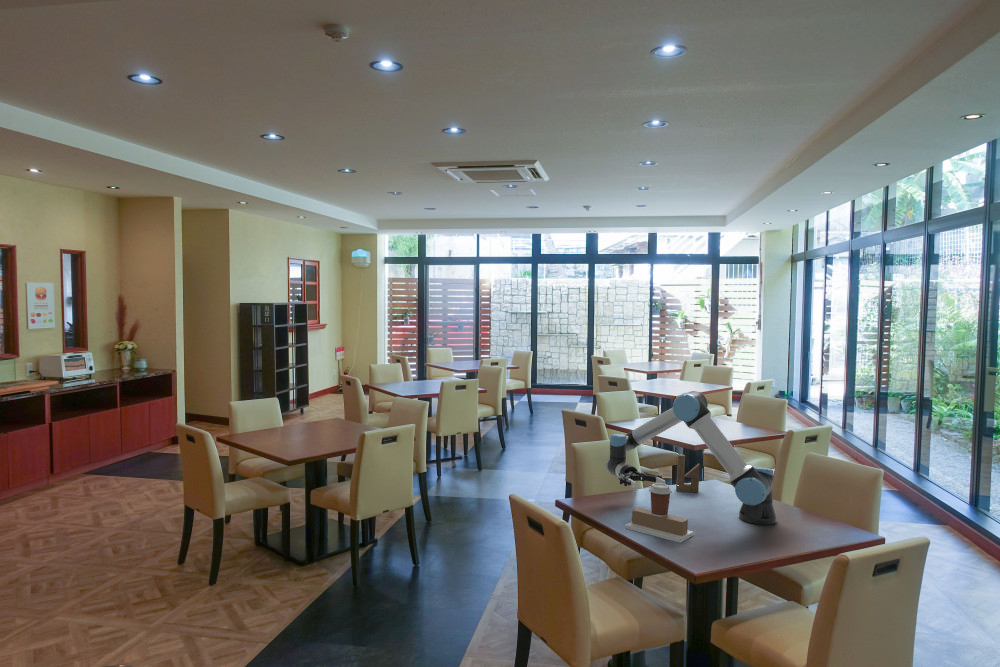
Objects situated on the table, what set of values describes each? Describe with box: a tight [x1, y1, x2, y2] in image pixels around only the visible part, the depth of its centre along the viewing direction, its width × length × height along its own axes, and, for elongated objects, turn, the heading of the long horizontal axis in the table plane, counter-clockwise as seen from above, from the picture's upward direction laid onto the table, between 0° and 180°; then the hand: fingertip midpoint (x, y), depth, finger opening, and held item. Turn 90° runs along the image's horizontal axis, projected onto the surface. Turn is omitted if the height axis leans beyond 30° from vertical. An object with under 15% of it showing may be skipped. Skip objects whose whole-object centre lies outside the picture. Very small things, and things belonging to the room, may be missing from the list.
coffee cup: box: [648, 482, 673, 517], centre depth 263 cm, size 9×9×12 cm
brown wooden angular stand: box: [675, 454, 700, 494], centre depth 327 cm, size 4×11×18 cm, turn 76°
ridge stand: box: [624, 507, 694, 544], centre depth 263 cm, size 24×12×7 cm, turn 50°
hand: (650, 484), depth 273 cm, fingers open, 13 cm apart
